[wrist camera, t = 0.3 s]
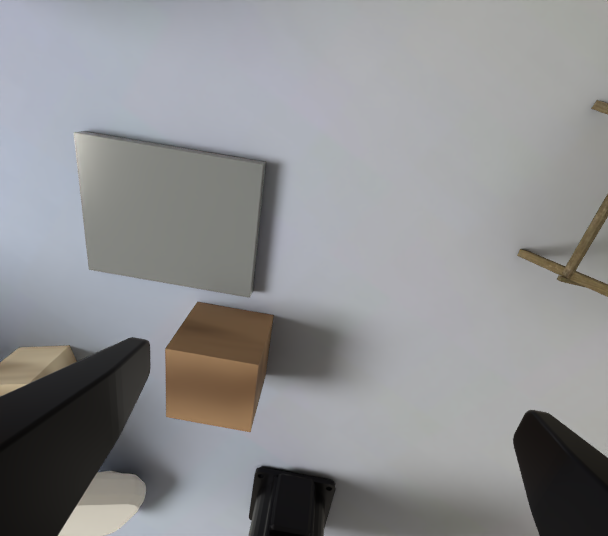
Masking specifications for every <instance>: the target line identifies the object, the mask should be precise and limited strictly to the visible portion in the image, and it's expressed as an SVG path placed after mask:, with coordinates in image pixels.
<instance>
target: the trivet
mask: <svg viewBox="0 0 608 536" xmlns="http://www.w3.org/2000/svg"><path fill="white" fill-rule="evenodd" d="M74 140H75V149H76V158H77V167H78V176H79V185H80V194H81V203H82V212H83V221H84V230H85V239H86V248H87V257H88V266H89V270H94V271H100V272H106V273H111V274H117V275H123V276H129V277H134V278H140V279H146V280H151V281H157V282H163V283H169V284H174V285H180V286H186V287H191V288H197V289H203V290H209V291H214V292H220V293H226V294H232V295H237V296H243V297H249V298H250V296H251V294H252V292H253V283H254V273H255V263H256V254H257V244H258V234H259V224H260V214H261V204H262V195H263V185H264V175H265V165H266V162H263V161H257V160H251V159H245V158H239V157H233V156H227V155H222V154H216V153H210V152H204V151H198V150H192V149H186V148H180V147H174V146H168V145H162V144H156V143H150V142H144V141H138V140H132V139H127V138H121V137H115V136H109V135H103V134H97V133H91V132H85V131H81V132H75V133H74Z"/></svg>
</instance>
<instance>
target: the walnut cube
mask: <svg viewBox="0 0 608 536" xmlns="http://www.w3.org/2000/svg"><path fill="white" fill-rule="evenodd" d="M273 317H274V315H270V314H264V313H258V312H253V311H247V310H241V309H236V308H230V307H224V306H219V305H213V304H207V303H201V302H197V303H196V305H195V306H194V308H193V309H192V310H191V312H190V313H189V315H188V316H187V318H186V319H185V321H184V322H183V324H182V325H181V327H180V328H179V329H178V331H177V332H176V334H175V335H174V337H173V338H172V340H171V341H170V343H169V344H168V345H167V347H166V348H165V359H166V417H169V418H175V419H181V420H186V421H192V422H197V423H203V424H208V425H214V426H219V427H225V428H230V429H236V430H241V431H247V432H251V428H252V424H253V421H254V417H255V413H256V409H257V406H258V402H259V398H260V394H261V391H262V387H263V383H264V379H265V376H266V369H267V361H268V354H269V346H270V339H271V331H272V324H273Z"/></svg>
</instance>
